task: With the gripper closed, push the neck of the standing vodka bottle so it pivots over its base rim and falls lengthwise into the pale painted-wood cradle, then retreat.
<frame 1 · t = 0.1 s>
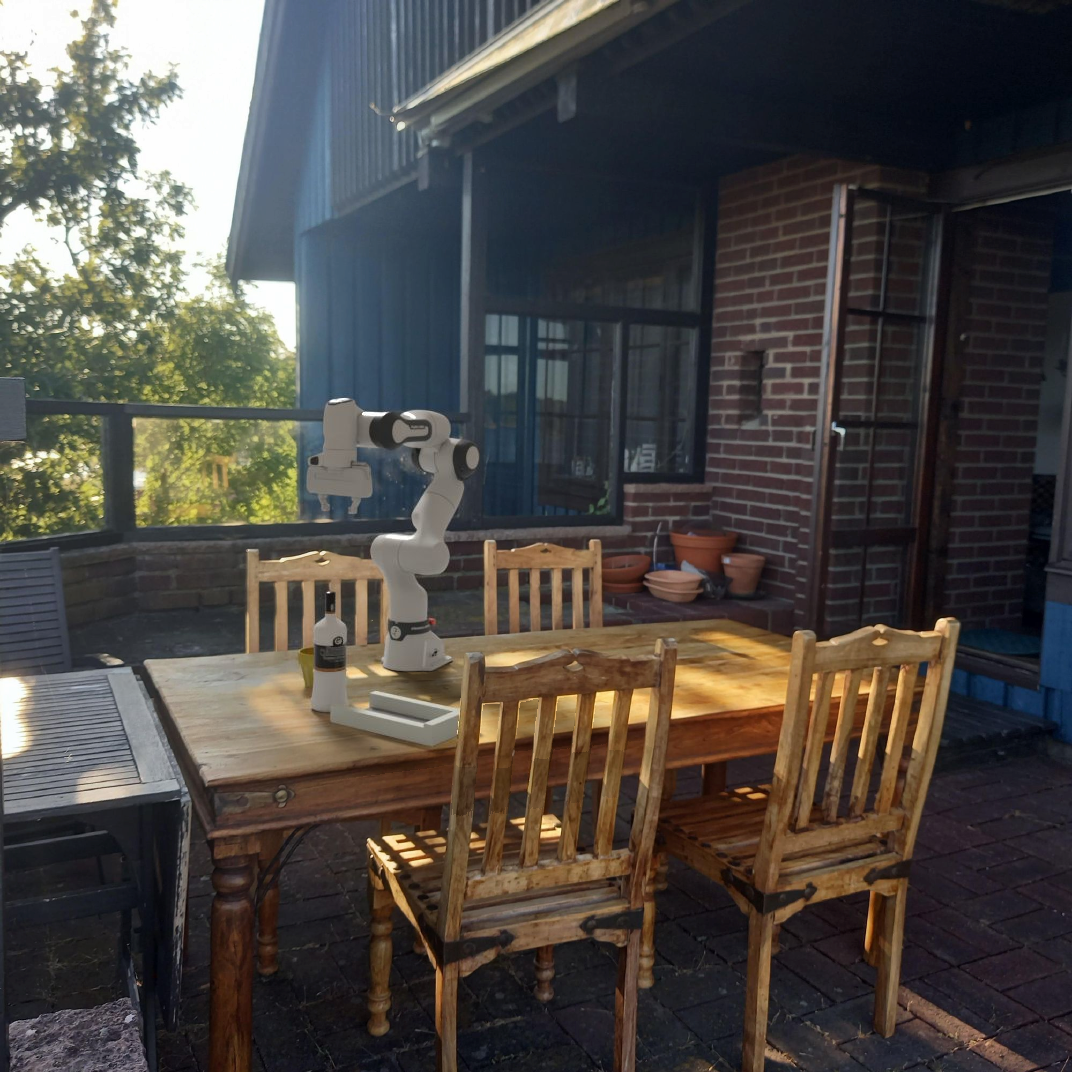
hand: (339, 512, 276), 48 cm above the table, fingers open, 8 cm apart
plant pot: (317, 686, 284), on the table
vodka: (329, 708, 264), on the table
cradle: (397, 724, 252), on the table
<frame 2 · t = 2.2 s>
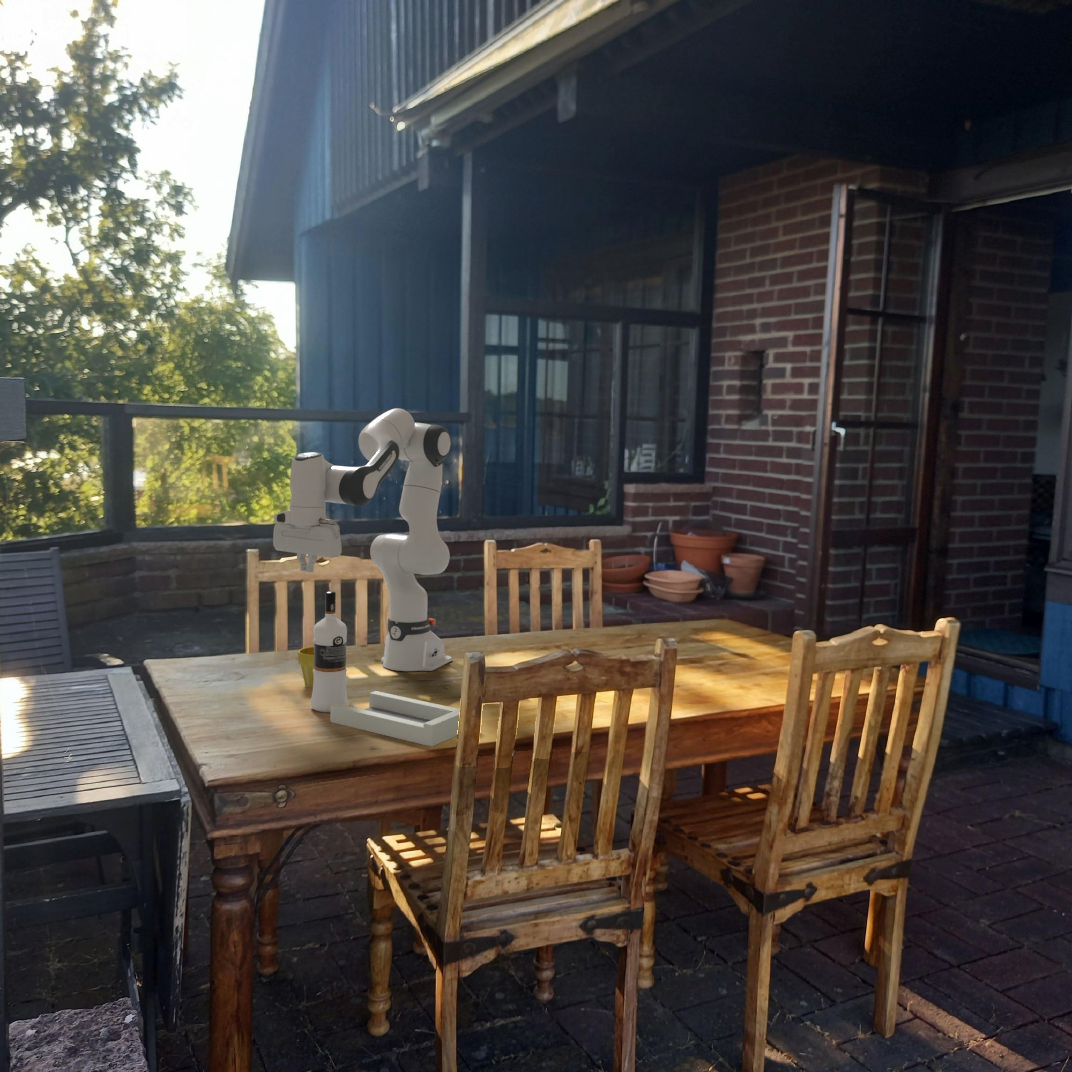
hand: (306, 571, 263), 34 cm above the table, fingers closed
nothing on the table moved.
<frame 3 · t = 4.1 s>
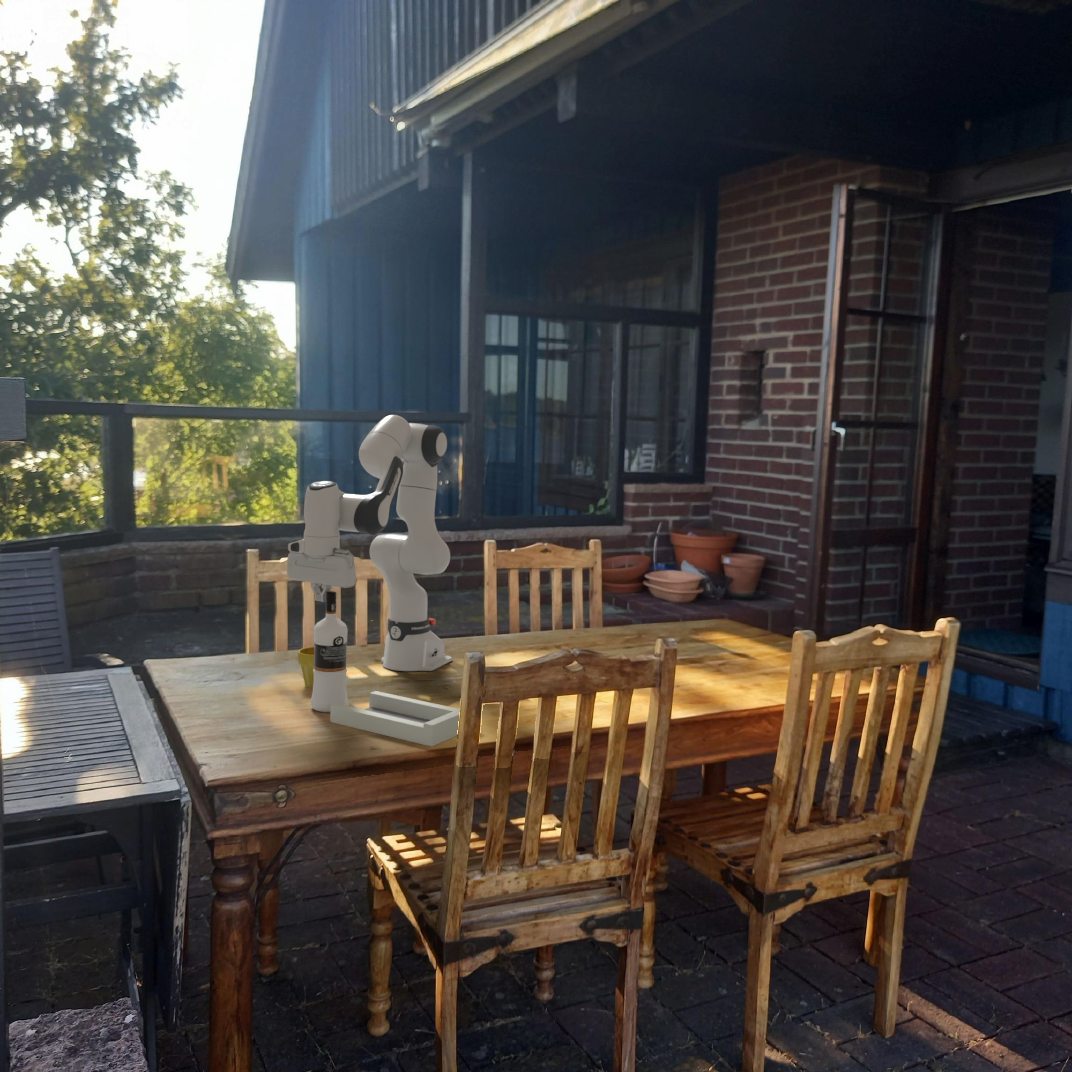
hand: (320, 601, 262), 27 cm above the table, fingers closed
vodka: (329, 708, 264), on the table, touching gripper
everything else where it was.
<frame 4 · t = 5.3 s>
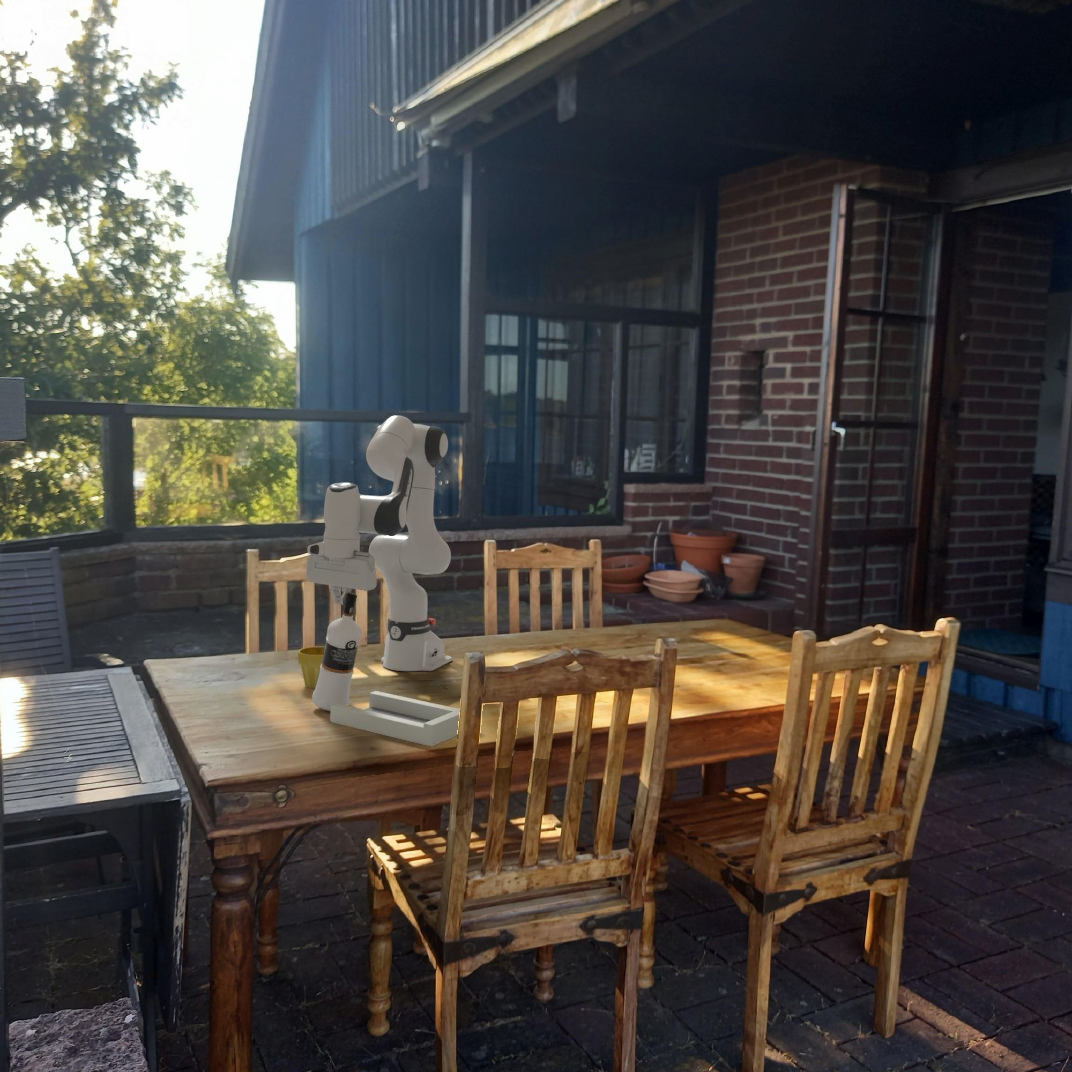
hand: (340, 604, 258), 27 cm above the table, fingers closed
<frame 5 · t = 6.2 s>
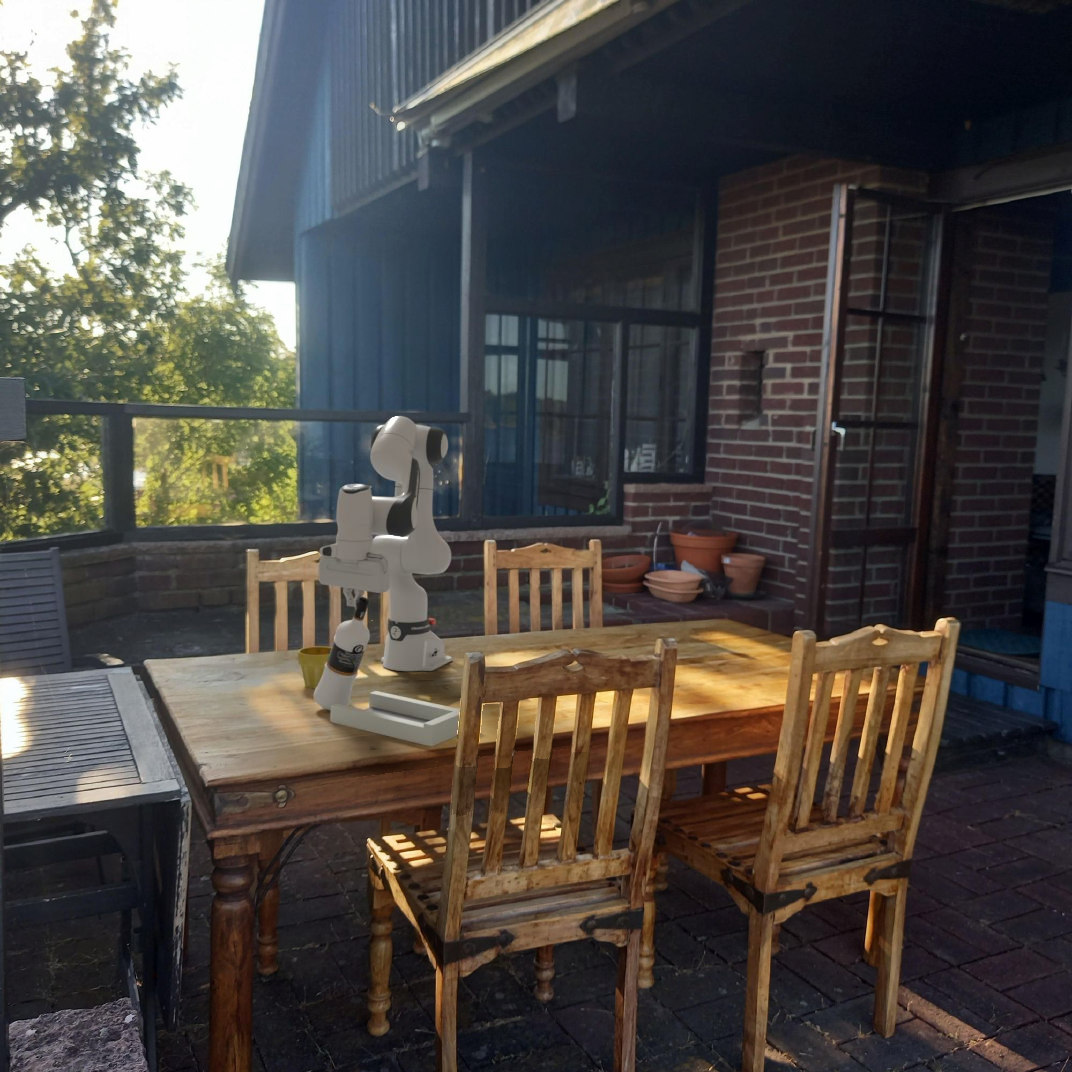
hand: (353, 606, 256), 27 cm above the table, fingers closed
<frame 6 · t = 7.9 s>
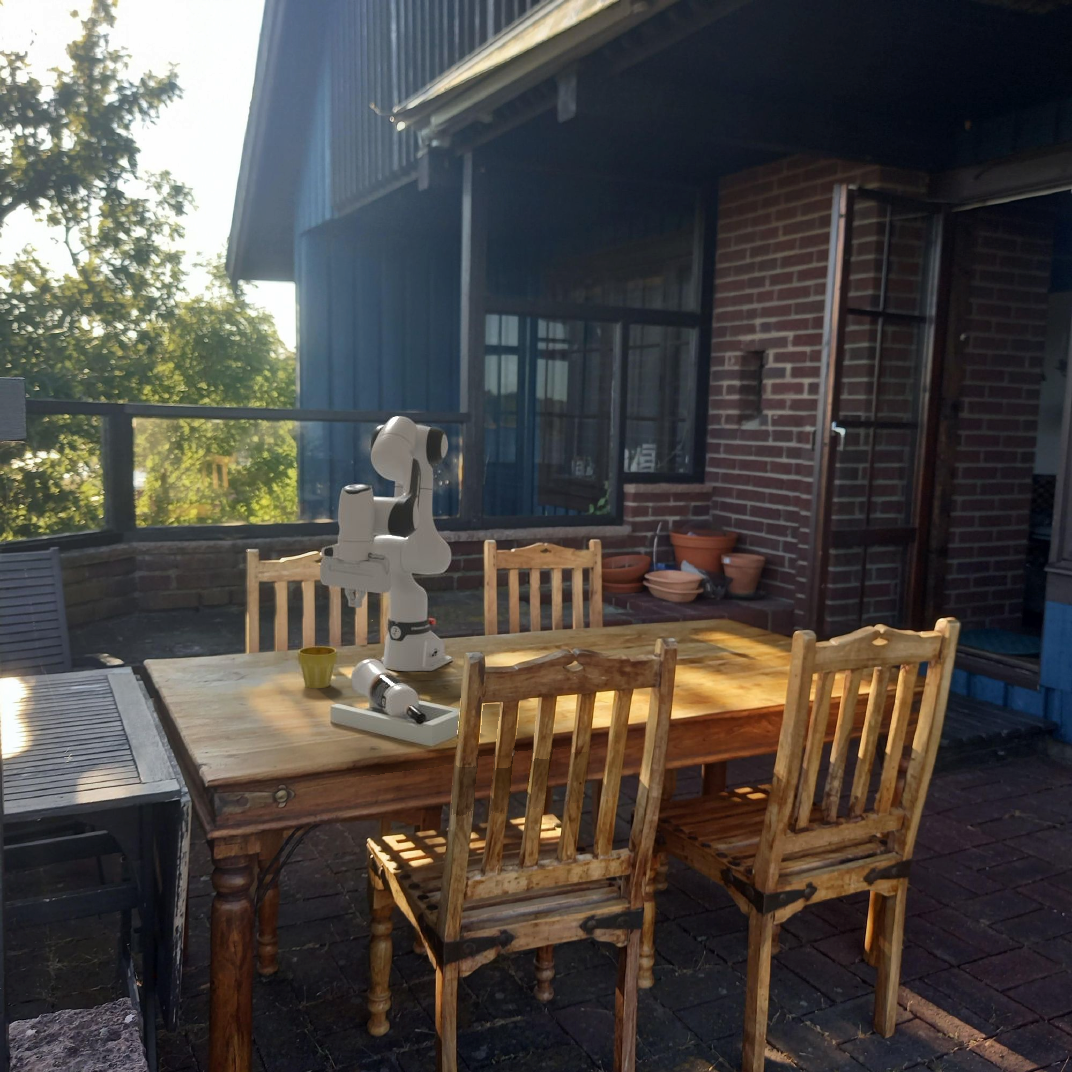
hand: (355, 606, 256), 27 cm above the table, fingers closed
vodka: (366, 674, 264), point 9 cm above the table, touching cradle
everything else where it was.
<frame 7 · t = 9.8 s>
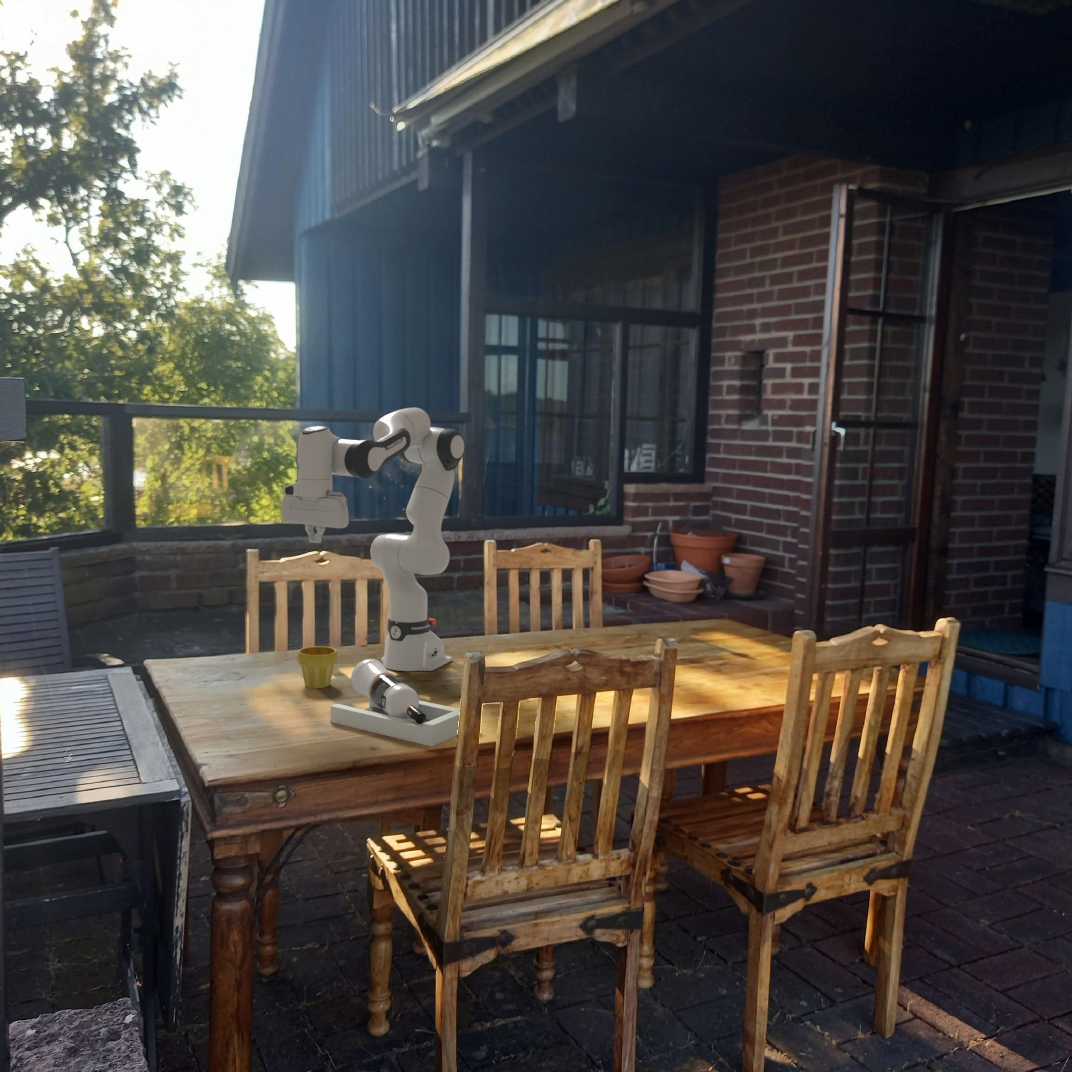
hand: (315, 542, 271), 40 cm above the table, fingers closed
nothing on the table moved.
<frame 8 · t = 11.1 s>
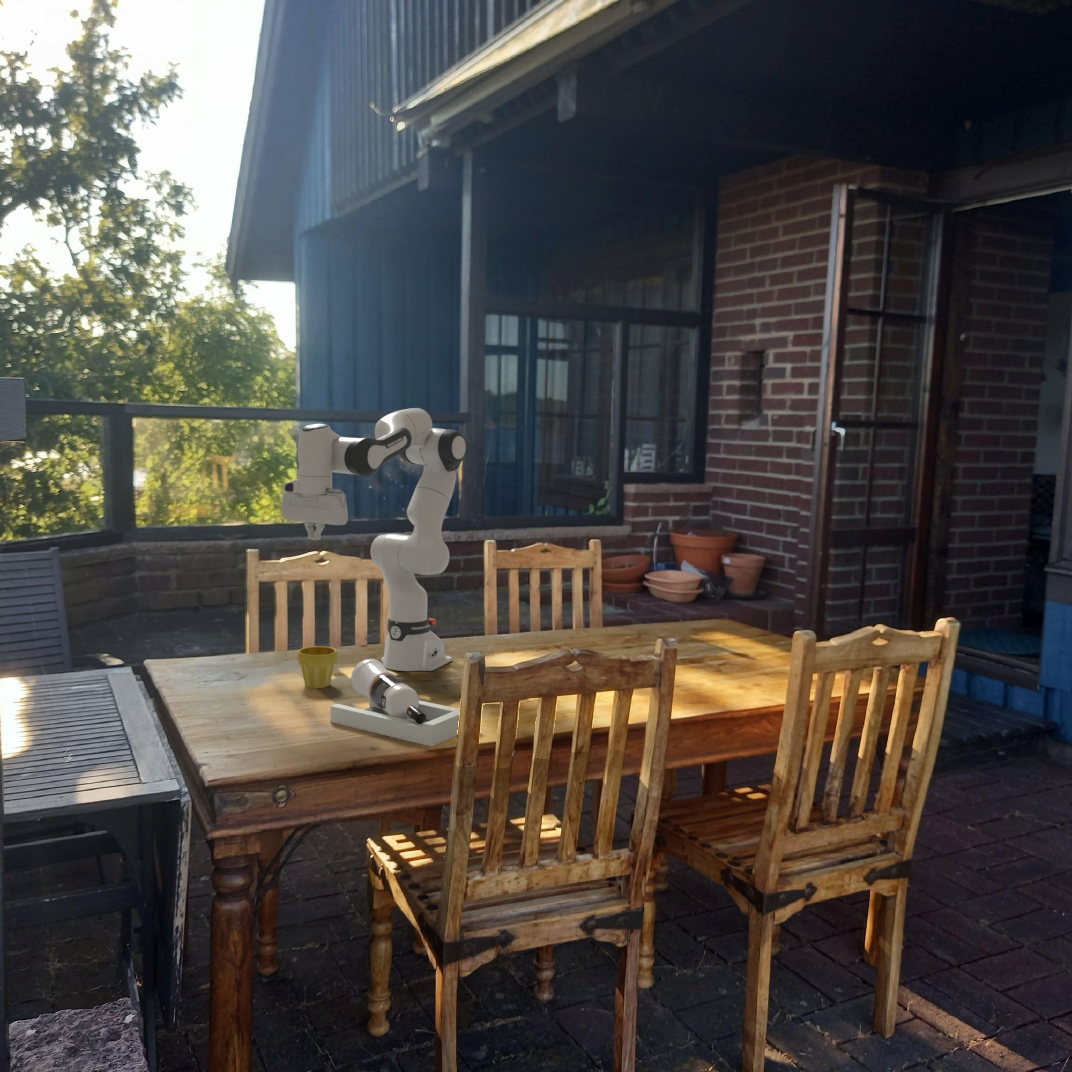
hand: (314, 539, 272), 41 cm above the table, fingers closed
nothing on the table moved.
at the end: vodka tilted 96°; vodka inside the target area on the cradle (6.8 cm from its centre), point 8.7 cm above the cradle's base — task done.
